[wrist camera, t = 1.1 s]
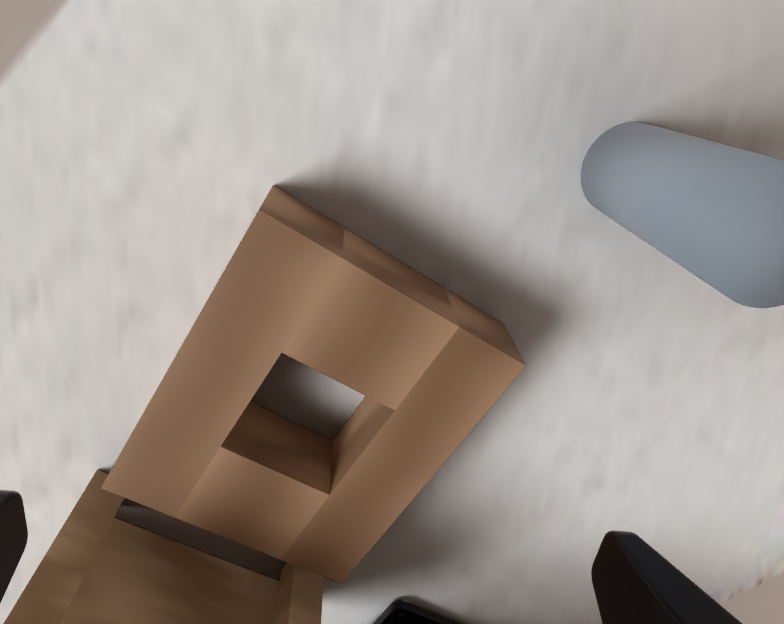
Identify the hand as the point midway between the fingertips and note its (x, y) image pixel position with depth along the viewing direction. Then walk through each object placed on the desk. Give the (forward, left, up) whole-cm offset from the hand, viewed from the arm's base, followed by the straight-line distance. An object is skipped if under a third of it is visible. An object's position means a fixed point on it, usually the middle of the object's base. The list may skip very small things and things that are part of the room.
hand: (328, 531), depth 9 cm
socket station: (-2, +8, -13) cm, 15 cm away
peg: (-7, -8, -13) cm, 17 cm away
